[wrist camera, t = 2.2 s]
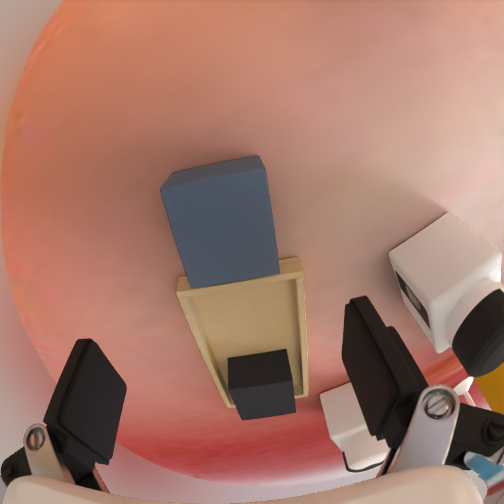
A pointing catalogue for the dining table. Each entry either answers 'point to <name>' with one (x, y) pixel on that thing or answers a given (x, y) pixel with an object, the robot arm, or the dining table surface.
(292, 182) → the dining table surface
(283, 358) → the pad
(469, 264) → the container
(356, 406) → the medicine bottle
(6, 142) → the dining table surface
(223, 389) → the wooden tray
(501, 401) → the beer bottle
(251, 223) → the blue block
